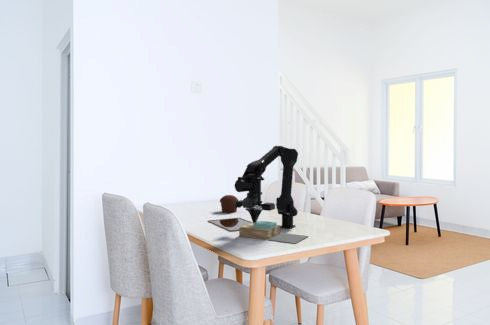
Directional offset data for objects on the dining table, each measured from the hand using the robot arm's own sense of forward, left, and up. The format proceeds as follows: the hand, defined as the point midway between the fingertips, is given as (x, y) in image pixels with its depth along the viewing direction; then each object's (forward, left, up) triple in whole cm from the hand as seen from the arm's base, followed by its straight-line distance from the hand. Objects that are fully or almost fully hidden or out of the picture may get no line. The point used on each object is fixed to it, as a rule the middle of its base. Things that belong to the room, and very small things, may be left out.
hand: (254, 223), depth 197 cm
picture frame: (-15, -19, -6) cm, 25 cm away
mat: (0, +17, -5) cm, 18 cm away
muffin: (-46, -42, -5) cm, 62 cm away
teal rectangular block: (0, +5, -1) cm, 5 cm away
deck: (0, +3, -5) cm, 6 cm away
